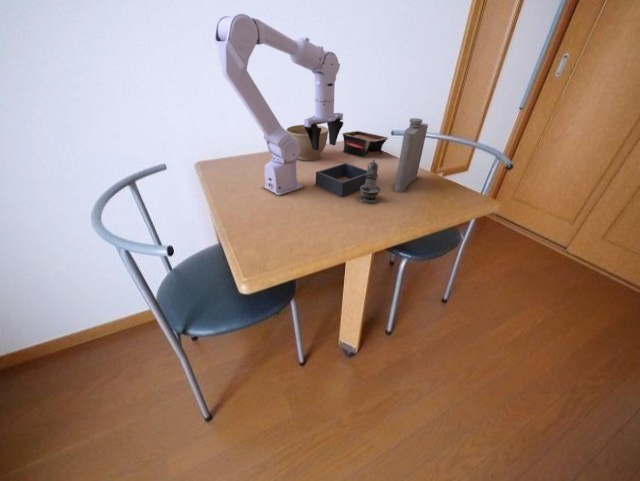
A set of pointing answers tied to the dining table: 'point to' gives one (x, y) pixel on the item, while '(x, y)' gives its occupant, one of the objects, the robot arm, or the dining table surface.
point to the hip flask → (410, 153)
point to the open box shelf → (331, 175)
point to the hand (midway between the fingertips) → (324, 146)
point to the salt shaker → (370, 185)
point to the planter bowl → (308, 141)
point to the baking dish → (362, 143)
